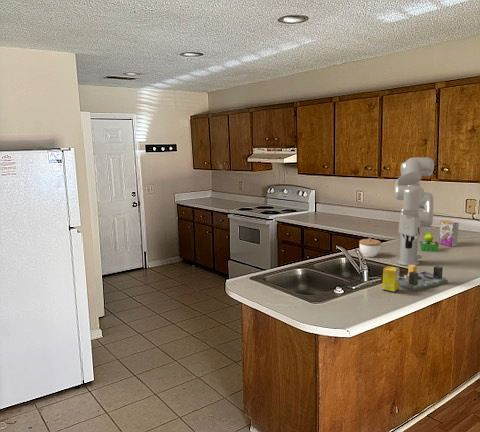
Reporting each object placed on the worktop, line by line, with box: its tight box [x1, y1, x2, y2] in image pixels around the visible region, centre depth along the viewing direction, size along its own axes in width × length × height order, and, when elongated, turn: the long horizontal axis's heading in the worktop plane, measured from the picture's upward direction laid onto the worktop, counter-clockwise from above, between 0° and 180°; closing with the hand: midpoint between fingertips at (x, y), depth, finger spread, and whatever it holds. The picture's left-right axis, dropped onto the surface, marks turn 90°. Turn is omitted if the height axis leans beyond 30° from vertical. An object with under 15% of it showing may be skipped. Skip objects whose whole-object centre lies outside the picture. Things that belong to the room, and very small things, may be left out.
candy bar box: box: [438, 219, 460, 248], centre depth 296 cm, size 11×5×16 cm, turn 22°
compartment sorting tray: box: [399, 265, 449, 293], centre depth 222 cm, size 26×14×8 cm, turn 119°
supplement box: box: [382, 265, 400, 294], centre depth 212 cm, size 6×6×11 cm
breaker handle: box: [407, 265, 418, 276], centre depth 225 cm, size 3×3×6 cm
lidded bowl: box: [358, 237, 381, 258], centre depth 272 cm, size 13×13×11 cm
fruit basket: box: [418, 231, 440, 253], centre depth 284 cm, size 11×9×11 cm
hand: (408, 247), depth 226 cm, fingers closed
